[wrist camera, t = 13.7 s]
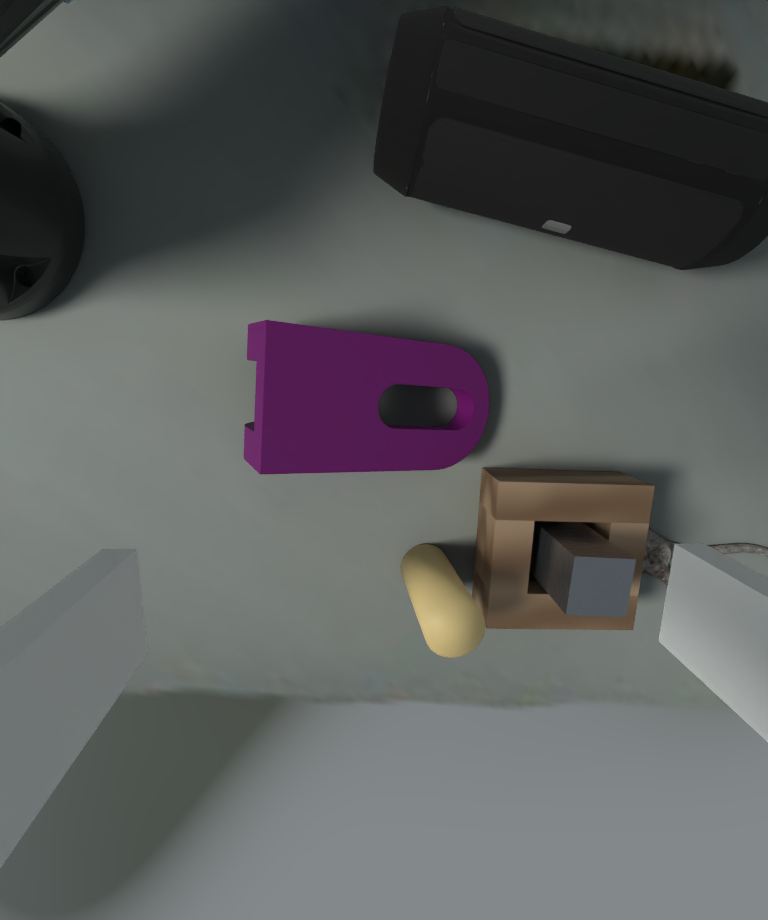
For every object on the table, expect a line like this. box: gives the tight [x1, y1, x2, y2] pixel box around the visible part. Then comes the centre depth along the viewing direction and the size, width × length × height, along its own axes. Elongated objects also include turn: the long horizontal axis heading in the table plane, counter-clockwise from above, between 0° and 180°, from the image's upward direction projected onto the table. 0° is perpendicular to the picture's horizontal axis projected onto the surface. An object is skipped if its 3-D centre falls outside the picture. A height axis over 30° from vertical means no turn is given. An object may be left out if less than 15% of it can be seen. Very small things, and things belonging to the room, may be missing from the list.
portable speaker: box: [373, 6, 768, 270], centre depth 31 cm, size 26×10×10 cm, turn 77°
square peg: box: [530, 521, 636, 617], centre depth 36 cm, size 4×4×10 cm
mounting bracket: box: [244, 320, 490, 474], centre depth 36 cm, size 10×8×18 cm
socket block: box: [472, 468, 655, 630], centre depth 38 cm, size 12×12×5 cm
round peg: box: [401, 544, 485, 658], centre depth 36 cm, size 4×4×10 cm
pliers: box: [642, 529, 768, 586], centre depth 42 cm, size 10×1×20 cm
